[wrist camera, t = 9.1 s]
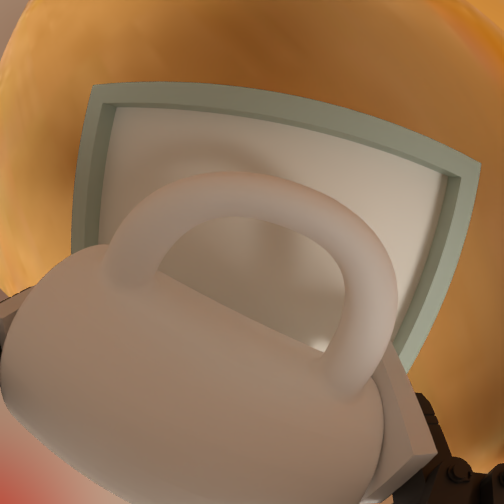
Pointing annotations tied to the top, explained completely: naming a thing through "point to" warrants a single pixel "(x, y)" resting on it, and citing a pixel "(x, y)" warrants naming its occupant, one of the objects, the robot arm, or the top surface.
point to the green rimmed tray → (287, 167)
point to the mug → (204, 361)
